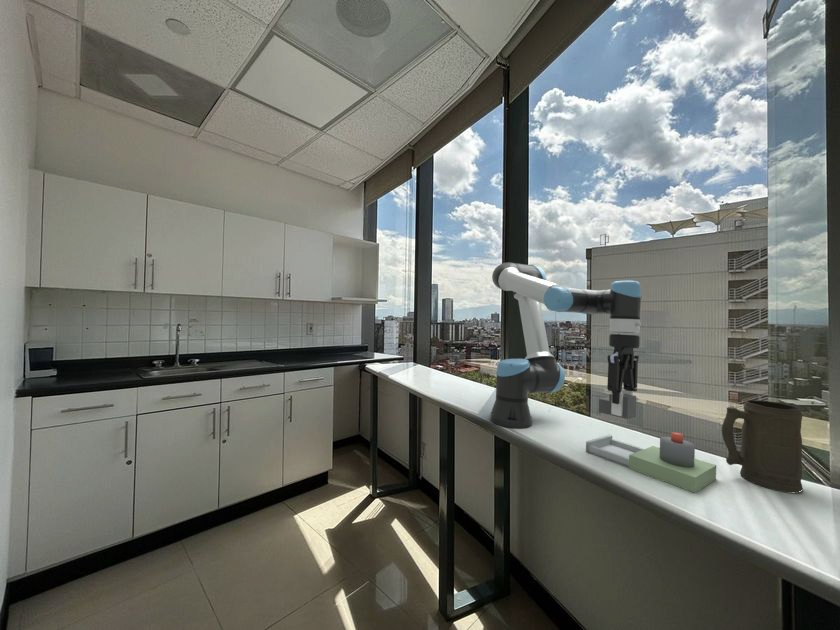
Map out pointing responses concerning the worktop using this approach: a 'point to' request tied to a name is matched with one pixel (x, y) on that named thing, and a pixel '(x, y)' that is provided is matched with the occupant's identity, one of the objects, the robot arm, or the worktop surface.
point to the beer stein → (767, 444)
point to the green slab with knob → (659, 460)
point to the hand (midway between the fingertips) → (621, 413)
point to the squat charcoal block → (628, 406)
